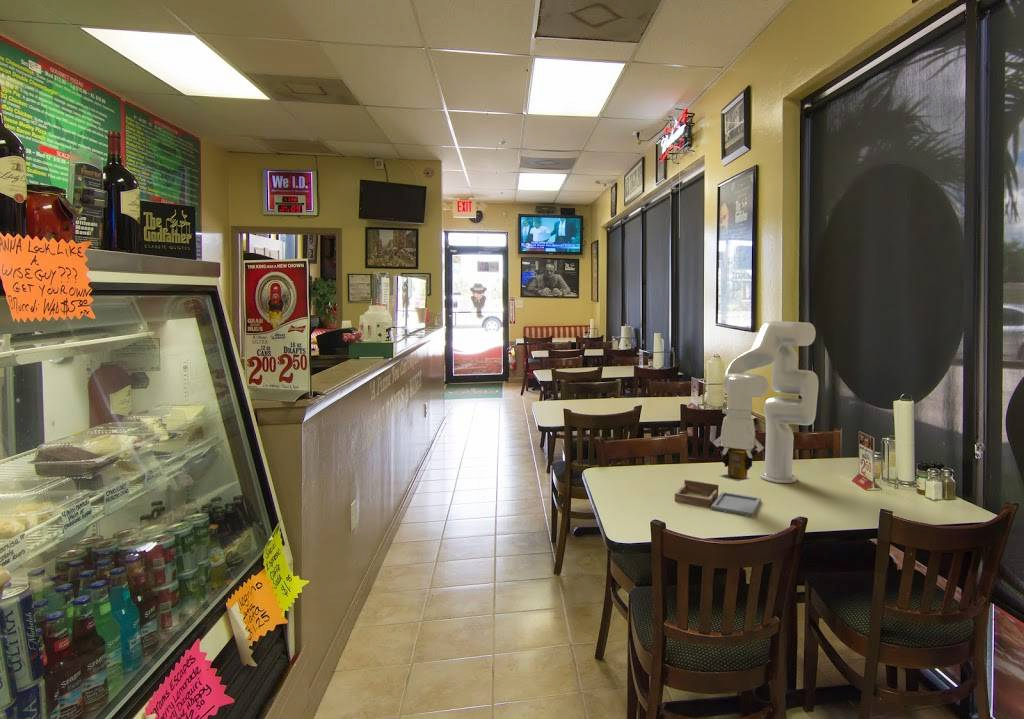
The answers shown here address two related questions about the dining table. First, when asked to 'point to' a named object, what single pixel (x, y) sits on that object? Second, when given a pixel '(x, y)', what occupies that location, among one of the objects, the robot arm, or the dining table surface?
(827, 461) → the dining table surface
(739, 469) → the condiment
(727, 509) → the tray
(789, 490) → the dining table surface
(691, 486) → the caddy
